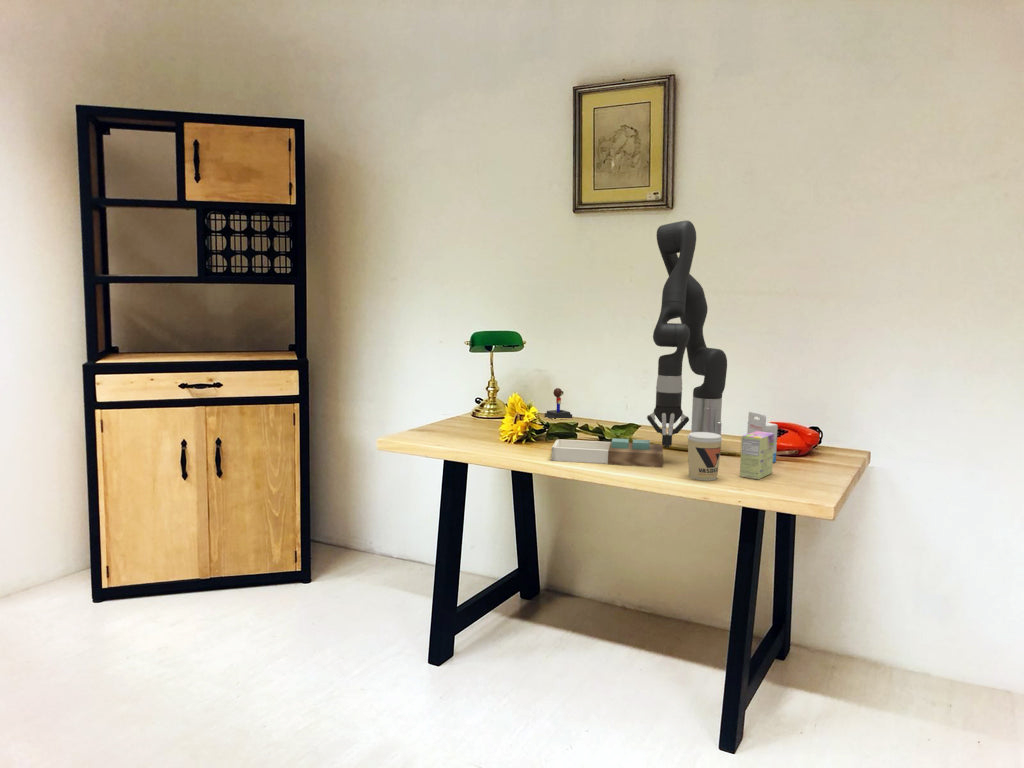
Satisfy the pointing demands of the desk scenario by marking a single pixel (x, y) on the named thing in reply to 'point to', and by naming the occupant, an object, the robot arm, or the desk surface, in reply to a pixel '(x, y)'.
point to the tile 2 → (641, 444)
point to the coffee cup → (704, 455)
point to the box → (756, 454)
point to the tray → (580, 451)
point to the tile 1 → (620, 443)
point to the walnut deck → (637, 456)
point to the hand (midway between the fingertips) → (666, 446)
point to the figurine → (558, 407)
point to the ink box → (762, 428)
